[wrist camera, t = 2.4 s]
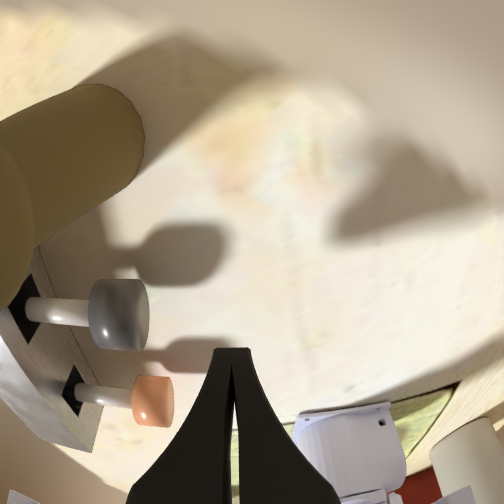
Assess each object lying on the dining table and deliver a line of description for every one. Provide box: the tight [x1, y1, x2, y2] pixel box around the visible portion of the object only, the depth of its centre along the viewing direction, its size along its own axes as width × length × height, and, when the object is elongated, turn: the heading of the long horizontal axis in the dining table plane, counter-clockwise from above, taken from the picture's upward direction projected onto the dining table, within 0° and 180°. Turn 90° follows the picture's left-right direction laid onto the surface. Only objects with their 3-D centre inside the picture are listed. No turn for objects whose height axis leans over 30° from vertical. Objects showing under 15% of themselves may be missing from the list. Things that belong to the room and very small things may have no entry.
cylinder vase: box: [429, 417, 504, 504], centre depth 26 cm, size 12×12×25 cm
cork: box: [0, 84, 145, 312], centre depth 8 cm, size 6×6×11 cm
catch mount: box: [0, 246, 104, 453], centre depth 16 cm, size 6×18×6 cm, turn 0°
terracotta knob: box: [74, 375, 174, 428], centre depth 18 cm, size 7×4×4 cm, turn 90°
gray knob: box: [25, 279, 149, 352], centre depth 14 cm, size 7×4×4 cm, turn 90°
